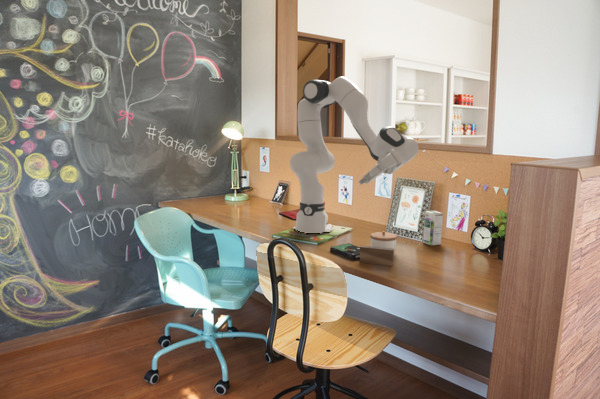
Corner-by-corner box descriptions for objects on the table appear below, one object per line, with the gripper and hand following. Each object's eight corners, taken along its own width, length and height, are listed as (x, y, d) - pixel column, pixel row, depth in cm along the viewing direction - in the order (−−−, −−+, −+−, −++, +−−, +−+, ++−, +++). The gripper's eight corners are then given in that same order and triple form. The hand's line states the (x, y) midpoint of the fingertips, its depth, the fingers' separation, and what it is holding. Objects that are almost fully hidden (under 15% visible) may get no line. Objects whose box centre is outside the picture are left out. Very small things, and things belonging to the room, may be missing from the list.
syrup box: (422, 242, 209) (424, 210, 207) (433, 241, 211) (435, 210, 209) (430, 245, 204) (432, 213, 201) (441, 244, 206) (443, 212, 204)
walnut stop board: (360, 260, 181) (361, 245, 180) (393, 264, 177) (393, 248, 176) (359, 262, 179) (360, 247, 178) (392, 265, 175) (393, 250, 174)
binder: (302, 208, 276) (319, 215, 257) (302, 212, 276) (319, 219, 258) (277, 211, 269) (294, 218, 250) (277, 215, 269) (294, 222, 251)
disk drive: (372, 258, 186) (348, 248, 198) (372, 251, 186) (348, 242, 198) (352, 262, 181) (329, 252, 193) (353, 255, 180) (329, 246, 192)
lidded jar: (401, 254, 190) (402, 232, 188) (382, 258, 184) (383, 235, 182) (383, 248, 198) (384, 227, 197) (364, 252, 192) (365, 230, 191)
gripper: (373, 165, 205) (350, 181, 200) (394, 147, 186) (370, 164, 181) (382, 177, 204) (359, 193, 199) (404, 160, 186) (379, 177, 180)
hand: (364, 179), depth 190 cm, fingers open, 8 cm apart
